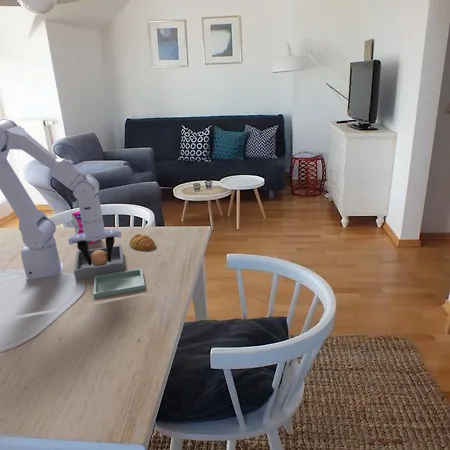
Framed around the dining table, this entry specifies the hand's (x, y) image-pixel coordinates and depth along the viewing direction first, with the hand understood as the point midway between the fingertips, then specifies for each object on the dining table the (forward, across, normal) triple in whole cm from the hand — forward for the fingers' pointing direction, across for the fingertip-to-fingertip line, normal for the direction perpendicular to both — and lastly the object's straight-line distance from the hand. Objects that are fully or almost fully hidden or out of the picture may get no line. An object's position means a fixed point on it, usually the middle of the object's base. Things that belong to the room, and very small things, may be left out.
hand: (100, 262), depth 122 cm
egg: (+1, 0, 0) cm, 1 cm away
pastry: (+2, +14, +11) cm, 17 cm away
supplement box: (+2, -4, +22) cm, 22 cm away
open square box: (+2, 0, 0) cm, 2 cm away
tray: (+2, +5, -14) cm, 15 cm away
